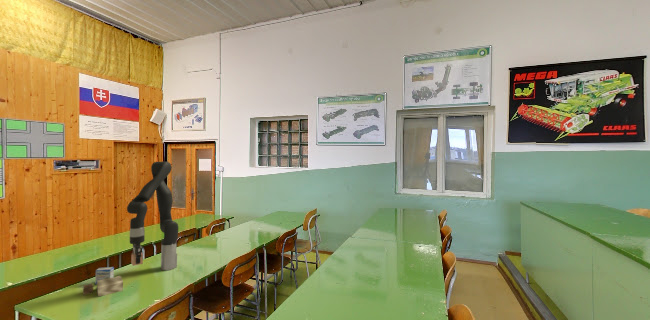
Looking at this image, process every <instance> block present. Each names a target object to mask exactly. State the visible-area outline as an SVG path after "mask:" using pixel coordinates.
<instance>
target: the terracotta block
mask: <svg viewBox="0 0 650 320" xmlns="http://www.w3.org/2000/svg"><path fill="white" fill-rule="evenodd" d="M138 255H139V254H138ZM135 257H136V255H135V254H134V253H133V252H132V253H131V259H130V260H131V262H130V263H131V265H132V266H139V265H143V263H144V261H143V260H144V255H143V252H142V253H141V257H140V263H139V264H136V258H135Z"/></svg>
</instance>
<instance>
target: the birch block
mask: <svg viewBox="0 0 650 320" xmlns="http://www.w3.org/2000/svg"><path fill="white" fill-rule="evenodd" d="M122 291H124V281H123V279H122V275H117V276H114V277H112V278H108V279H103V280H99V281H97V284H96V292H97V297H98V298H99V297H103V296H107V295H111V294H114V293H118V292H122Z"/></svg>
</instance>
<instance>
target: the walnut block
mask: <svg viewBox="0 0 650 320" xmlns="http://www.w3.org/2000/svg"><path fill="white" fill-rule="evenodd" d="M93 289H94V285H93V283H88V284H83V286H82V293H83V294H82V295H83V296H86V295H90V294H93V292H94V290H93Z"/></svg>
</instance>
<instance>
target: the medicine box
mask: <svg viewBox="0 0 650 320" xmlns="http://www.w3.org/2000/svg"><path fill="white" fill-rule="evenodd" d="M114 271H115V267H114V266H110V267H109V266H107V267H98V268H97V269H95V281H94V284H95V285H97V281H99V280H103V279H108V278H112V277H115V276H114V275H115V272H114Z"/></svg>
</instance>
